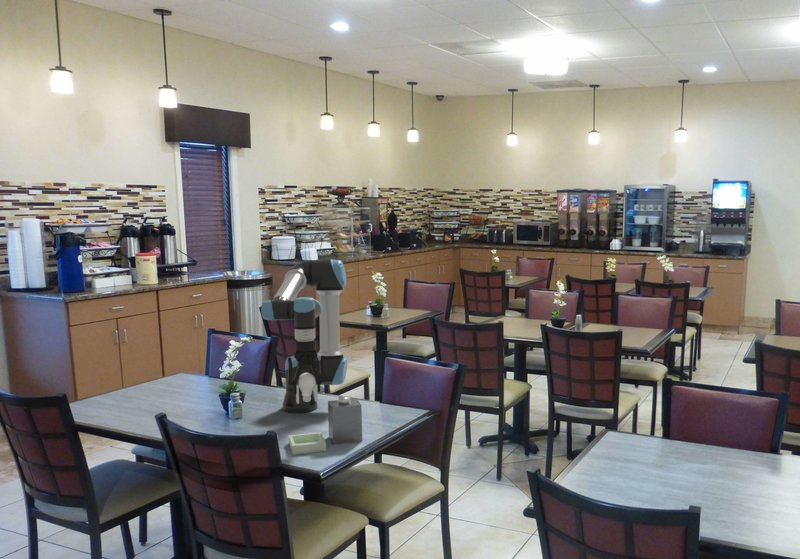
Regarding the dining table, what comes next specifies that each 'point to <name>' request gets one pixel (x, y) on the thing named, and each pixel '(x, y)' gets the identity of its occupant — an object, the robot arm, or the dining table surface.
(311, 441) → the tray
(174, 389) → the dining table surface
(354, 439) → the housing
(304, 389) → the light bulb
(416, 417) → the dining table surface
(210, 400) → the dining table surface
